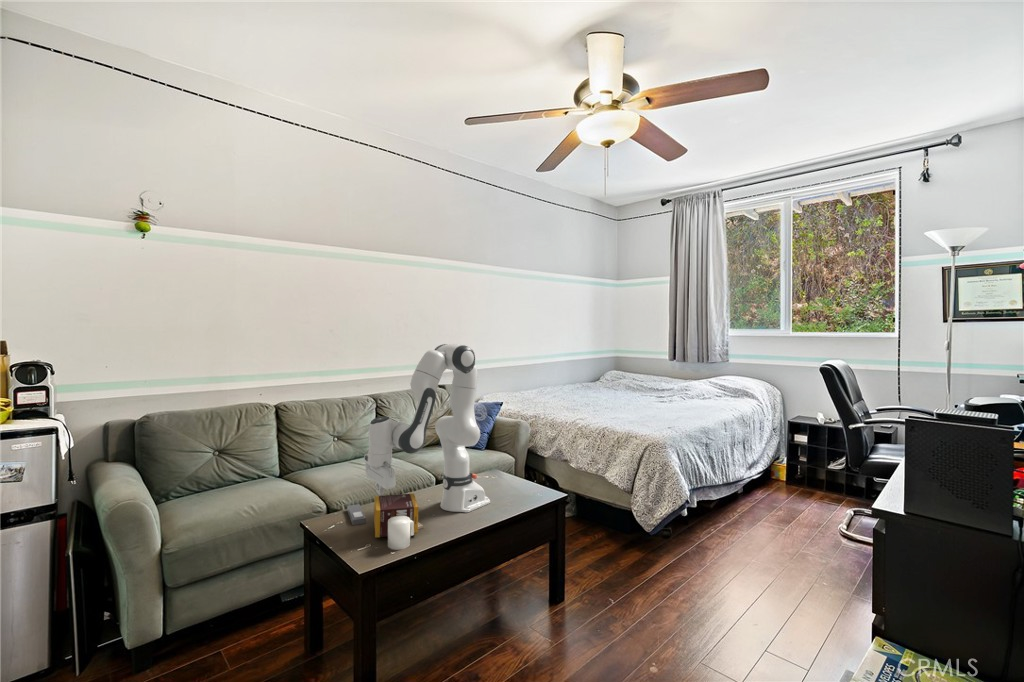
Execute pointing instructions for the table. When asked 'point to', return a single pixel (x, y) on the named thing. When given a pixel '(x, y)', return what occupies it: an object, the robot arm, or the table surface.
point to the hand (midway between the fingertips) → (380, 494)
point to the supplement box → (394, 511)
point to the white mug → (399, 532)
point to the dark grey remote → (356, 514)
